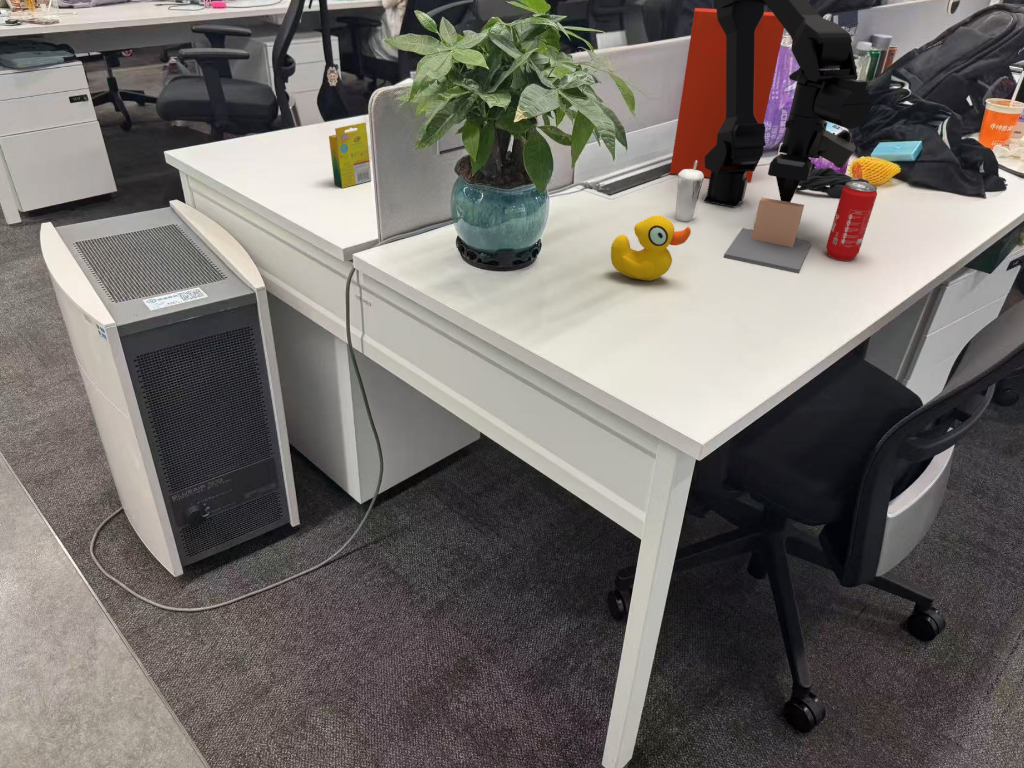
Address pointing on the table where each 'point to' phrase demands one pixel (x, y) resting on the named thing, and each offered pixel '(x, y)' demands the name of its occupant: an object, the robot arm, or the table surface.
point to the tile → (777, 221)
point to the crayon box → (350, 156)
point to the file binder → (718, 86)
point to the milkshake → (688, 193)
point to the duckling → (647, 249)
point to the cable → (827, 182)
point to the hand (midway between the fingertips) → (785, 206)
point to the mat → (768, 252)
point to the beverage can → (851, 220)
